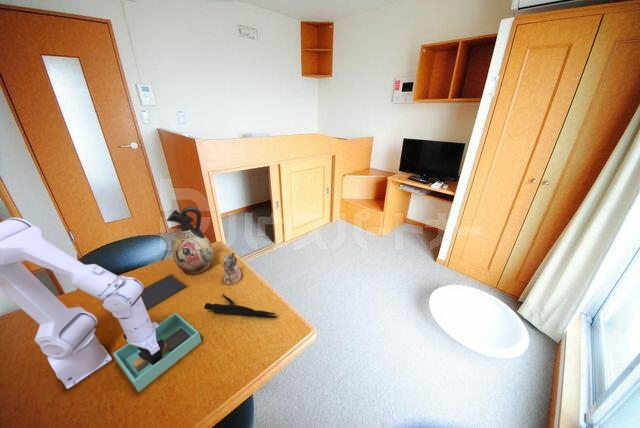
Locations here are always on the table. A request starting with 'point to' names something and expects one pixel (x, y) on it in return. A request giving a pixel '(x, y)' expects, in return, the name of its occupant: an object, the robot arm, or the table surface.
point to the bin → (168, 358)
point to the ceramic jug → (191, 243)
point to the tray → (160, 291)
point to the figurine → (231, 269)
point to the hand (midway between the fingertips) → (151, 355)
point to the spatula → (170, 345)
